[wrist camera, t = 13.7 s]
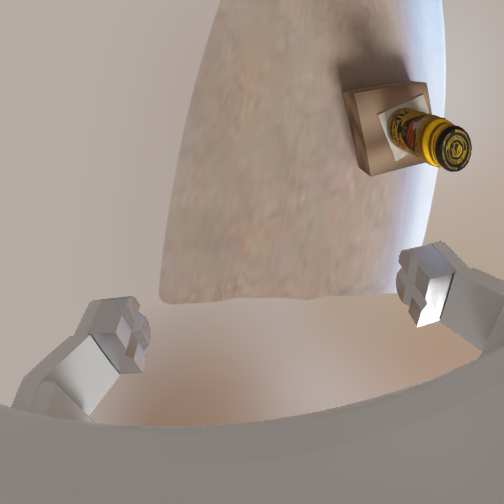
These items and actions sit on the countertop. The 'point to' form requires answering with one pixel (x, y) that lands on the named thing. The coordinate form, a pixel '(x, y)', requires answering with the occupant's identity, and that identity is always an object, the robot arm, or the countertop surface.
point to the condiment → (425, 136)
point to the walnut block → (379, 123)
